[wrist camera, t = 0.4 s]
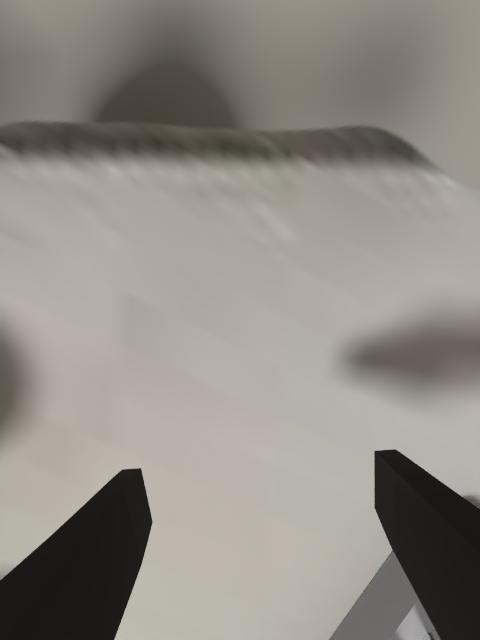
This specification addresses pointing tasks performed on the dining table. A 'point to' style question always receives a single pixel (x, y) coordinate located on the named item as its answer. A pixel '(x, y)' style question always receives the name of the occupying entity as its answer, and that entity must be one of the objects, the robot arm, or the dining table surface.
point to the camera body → (387, 610)
